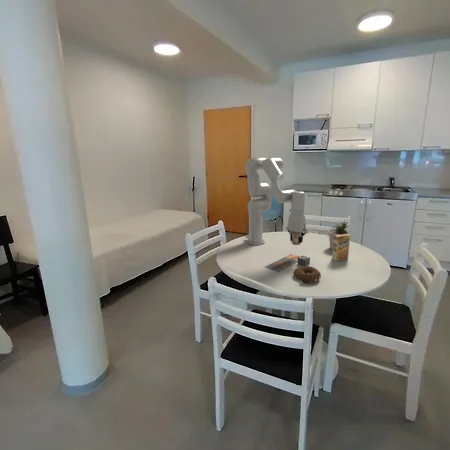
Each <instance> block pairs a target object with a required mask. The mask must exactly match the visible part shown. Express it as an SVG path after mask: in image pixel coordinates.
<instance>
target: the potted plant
mask: <svg viewBox="0 0 450 450" xmlns="http://www.w3.org/2000/svg"><path fill="white" fill-rule="evenodd" d="M338 222H339V223H340V224H338V223H336V222H334V224H335V225H332V226H331V229H329V230H327V231H328V240H329V248H330V249H331V250H333V239H334V235H340V234H348V235H350V234H349V233H351V232H352V231H348V228H349V226H350V225H347V224H348V223H349V221H346V219H344V221H340V220H338Z"/></svg>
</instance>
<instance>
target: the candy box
mask: <svg viewBox="0 0 450 450" xmlns="http://www.w3.org/2000/svg"><path fill="white" fill-rule="evenodd" d="M350 238H351V235H350V234H340V235H334V239H333V249H332V254H331V255H332V256H331V259H332V260H334V261H344V260H349V251H350V242H351V241H350V240H351V239H350Z"/></svg>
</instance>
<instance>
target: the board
mask: <svg viewBox="0 0 450 450" xmlns="http://www.w3.org/2000/svg"><path fill="white" fill-rule="evenodd" d="M299 257H301V256H300V255H295V254H292V253H290V254H288V255H286V256H285V257H282V258H281V259H278V260H276V261H274V262H272V263H270V264H268V265H266V266H264V269H265V268H266V269H269V270H271V271H275V272H277V273H281V272H282V271H283V270H285V269H288V268H290V267H291V266H293V265H295V264H298V258H299Z"/></svg>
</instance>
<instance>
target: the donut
mask: <svg viewBox="0 0 450 450" xmlns="http://www.w3.org/2000/svg"><path fill="white" fill-rule="evenodd" d="M292 272H293V276H294V278H295V279H297V280H298V281H302V282H303V283H309V284H311V283H317V282H319V281H320V279H321V276H322V275H321V272H320V270H318V269H317V268H315V267H313V266H309V265H307V266H302V265H299V266H298V267H296V268H295V269H294V271H292Z"/></svg>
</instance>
